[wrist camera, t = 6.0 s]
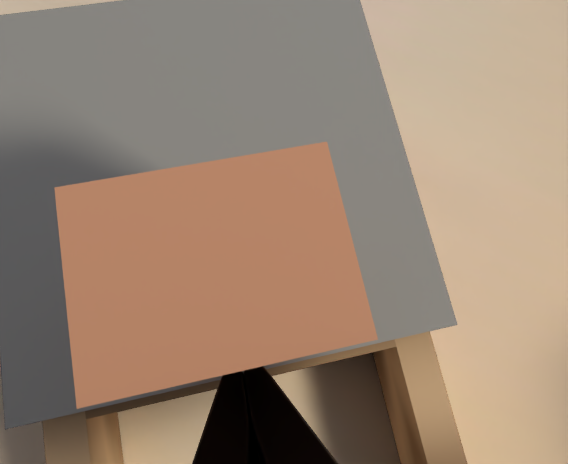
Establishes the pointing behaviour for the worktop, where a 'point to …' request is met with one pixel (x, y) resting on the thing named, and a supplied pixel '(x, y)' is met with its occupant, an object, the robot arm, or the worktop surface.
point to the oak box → (388, 357)
